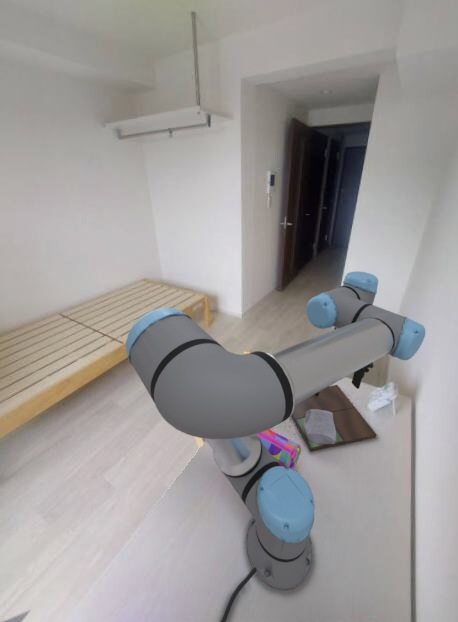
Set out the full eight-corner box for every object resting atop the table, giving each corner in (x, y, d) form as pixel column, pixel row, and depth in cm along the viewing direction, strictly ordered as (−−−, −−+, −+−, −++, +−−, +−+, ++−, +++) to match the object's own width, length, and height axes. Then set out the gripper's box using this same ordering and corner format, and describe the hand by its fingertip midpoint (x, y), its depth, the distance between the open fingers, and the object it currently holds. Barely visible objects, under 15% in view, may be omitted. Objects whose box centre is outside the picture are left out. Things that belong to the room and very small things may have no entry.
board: (310, 452, 87) (310, 448, 86) (282, 397, 107) (282, 394, 107) (375, 437, 91) (376, 434, 90) (336, 387, 112) (337, 384, 111)
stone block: (305, 445, 89) (338, 446, 86) (304, 435, 87) (337, 435, 84) (303, 417, 99) (332, 417, 97) (302, 407, 97) (331, 407, 95)
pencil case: (228, 444, 90) (227, 425, 85) (243, 424, 96) (243, 406, 92) (289, 482, 78) (292, 463, 74) (301, 457, 85) (304, 438, 81)
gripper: (313, 343, 66) (303, 405, 76) (400, 331, 71) (379, 391, 81) (299, 328, 72) (291, 387, 82) (380, 317, 77) (363, 374, 87)
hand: (335, 389), depth 82 cm, fingers open, 13 cm apart
